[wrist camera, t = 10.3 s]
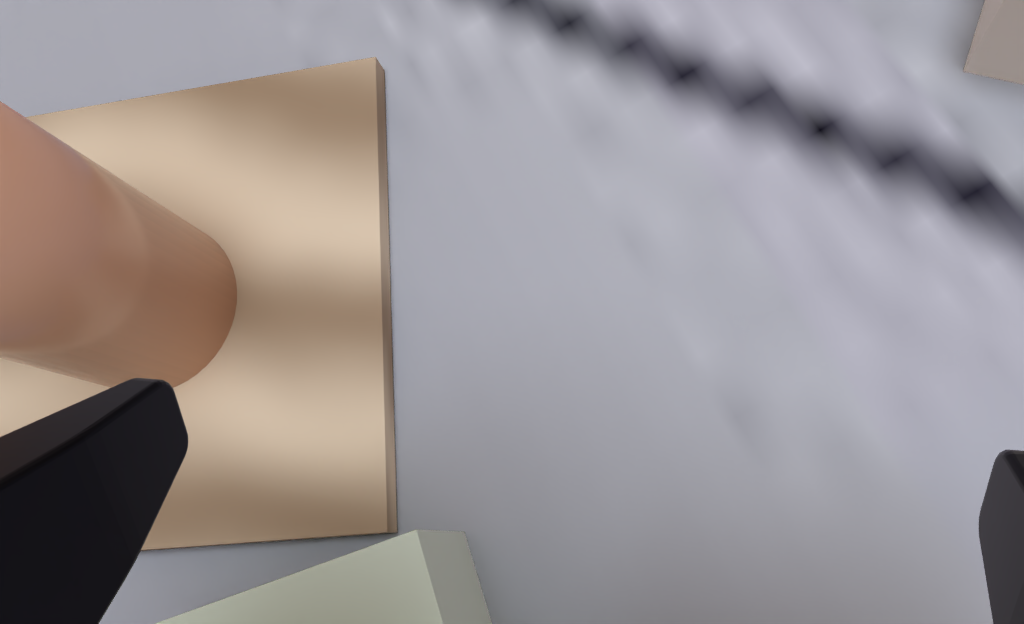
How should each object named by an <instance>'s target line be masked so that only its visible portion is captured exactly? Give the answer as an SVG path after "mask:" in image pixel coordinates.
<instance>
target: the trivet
mask: <svg viewBox="0 0 1024 624" xmlns="http://www.w3.org/2000/svg"><path fill="white" fill-rule="evenodd" d="M25 118H27V119H29V120H30V121H32V122H33V123H35V124H36V125H38V126H39V127H41V128H43V129H44V130H46V131H47V132H49V133H50V134H52V135H53V136H55V137H57V138H58V139H60V140H61V141H63V142H64V143H66V144H67V145H69V146H71V147H72V148H74V149H75V150H77V151H78V152H80V153H81V154H83V155H84V156H86V157H88V158H89V159H91V160H92V161H94V162H95V163H97V164H98V165H100V166H102V167H103V168H105V169H106V170H108V171H109V172H111V173H112V174H114V175H116V176H117V177H119V178H120V179H122V180H123V181H125V182H126V183H128V184H130V185H131V186H133V187H134V188H136V189H137V190H139V191H140V192H142V193H144V194H145V195H147V196H148V197H150V198H151V199H153V200H154V201H156V202H158V203H159V204H161V205H162V206H164V207H165V208H167V209H168V210H170V211H172V212H173V213H175V214H176V215H178V216H179V217H181V218H182V219H184V220H186V221H187V222H189V223H190V224H192V225H193V226H195V227H196V228H198V229H200V230H201V231H203V232H204V233H206V234H207V235H209V236H210V237H211V238H213V239H214V240H215V241H216V242H217V243H218V244H219V245H220V247H221V248H222V249H223V250H224V252H225V253H226V255H227V257H228V258H229V260H230V263H231V265H232V268H233V270H234V274H235V278H236V285H237V305H236V311H235V316H234V320H233V323H232V326H231V329H230V331H229V334H228V336H227V338H226V340H225V342H224V343H223V345H222V347H221V349H220V350H219V351H218V353H217V354H216V356H215V357H214V358H213V359H212V360H211V361H210V363H209V364H208V365H207V366H206V367H205V368H204V369H202V370H201V371H200V372H199V373H198V374H197V375H195V376H194V377H192V378H191V379H189V380H188V381H186V382H184V383H182V384H180V385H179V386H176V387H174V388H173V389H174V392H175V395H176V398H177V401H178V404H179V407H180V411H181V414H182V417H183V420H184V423H185V426H186V429H187V433H188V449H187V453H186V455H185V458H184V460H183V462H182V464H181V466H180V469H179V471H178V473H177V475H176V477H175V479H174V481H173V483H172V485H171V488H170V490H169V492H168V494H167V496H166V498H165V500H164V502H163V505H162V507H161V509H160V511H159V513H158V515H157V517H156V519H155V522H154V524H153V526H152V528H151V530H150V532H149V534H148V536H147V538H146V541H145V543H144V545H143V547H142V549H141V551H146V550H160V549H173V548H187V547H201V546H215V545H229V544H242V543H256V542H270V541H284V540H298V539H311V538H325V537H339V536H353V535H367V534H381V533H394V532H397V505H396V469H395V433H394V397H393V361H392V325H391V289H390V253H389V217H388V181H387V145H386V109H385V73H384V69H383V68H382V66H381V65H380V63H379V61H378V60H377V58H376V57H373V58H367V59H361V60H355V61H350V62H344V63H338V64H332V65H326V66H320V67H315V68H309V69H303V70H297V71H291V72H286V73H280V74H274V75H268V76H262V77H257V78H251V79H245V80H239V81H233V82H228V83H222V84H216V85H210V86H204V87H199V88H193V89H187V90H181V91H175V92H170V93H164V94H158V95H152V96H146V97H141V98H135V99H129V100H123V101H117V102H112V103H106V104H100V105H94V106H88V107H83V108H77V109H71V110H65V111H59V112H54V113H48V114H42V115H36V116H30V117H25ZM109 388H111V387H107V386H103V385H100V384H96V383H92V382H88V381H84V380H81V379H77V378H73V377H69V376H66V375H62V374H58V373H54V372H51V371H47V370H43V369H39V368H35V367H32V366H28V365H24V364H20V363H17V362H13V361H9V360H5V359H2V358H0V437H1V436H3V435H6V434H8V433H10V432H12V431H15V430H17V429H19V428H21V427H24V426H26V425H28V424H30V423H33V422H35V421H37V420H39V419H42V418H44V417H46V416H48V415H51V414H53V413H55V412H57V411H60V410H62V409H64V408H66V407H69V406H71V405H73V404H75V403H78V402H80V401H82V400H84V399H87V398H89V397H91V396H93V395H96V394H98V393H100V392H102V391H105V390H107V389H109Z"/></svg>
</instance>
